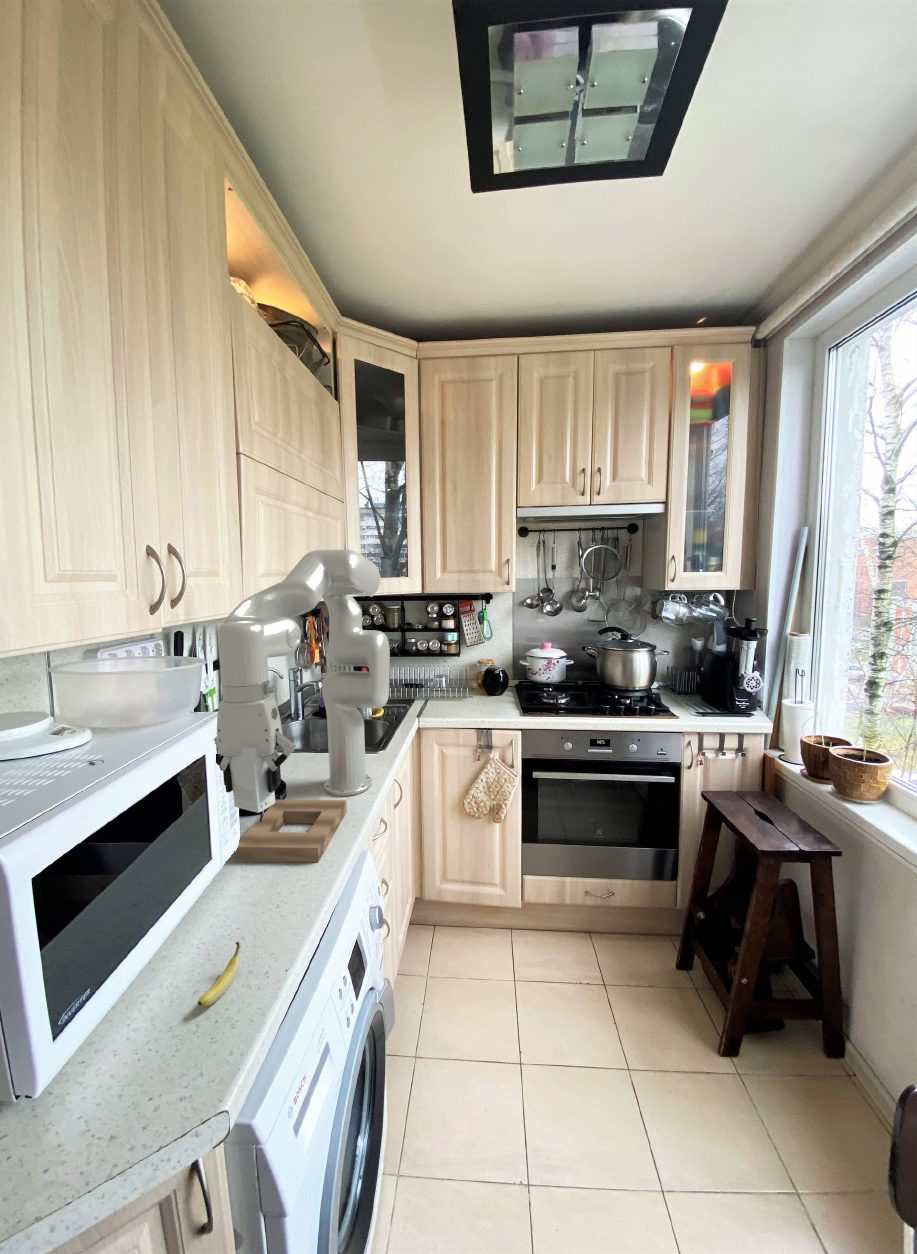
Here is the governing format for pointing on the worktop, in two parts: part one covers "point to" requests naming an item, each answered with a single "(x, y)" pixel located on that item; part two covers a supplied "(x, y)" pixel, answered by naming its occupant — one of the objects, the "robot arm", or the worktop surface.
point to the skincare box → (250, 781)
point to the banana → (221, 981)
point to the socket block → (292, 845)
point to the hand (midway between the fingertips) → (253, 788)
